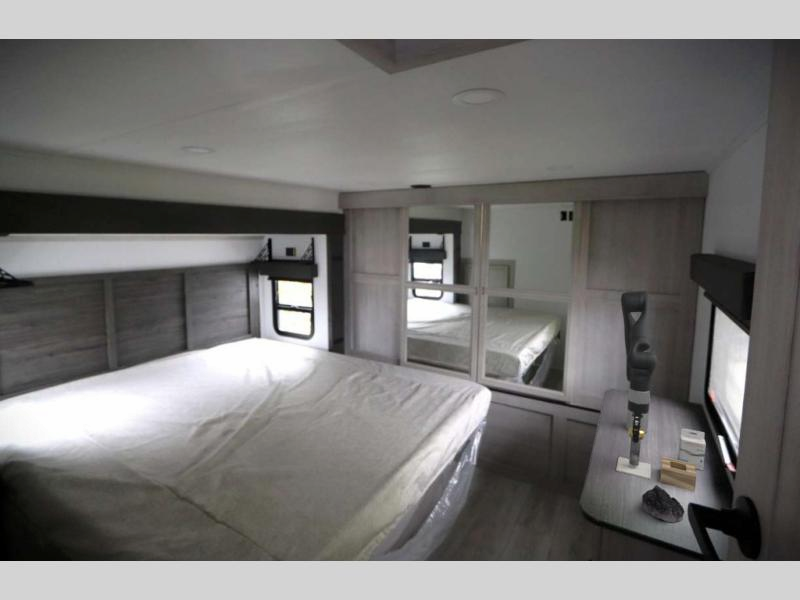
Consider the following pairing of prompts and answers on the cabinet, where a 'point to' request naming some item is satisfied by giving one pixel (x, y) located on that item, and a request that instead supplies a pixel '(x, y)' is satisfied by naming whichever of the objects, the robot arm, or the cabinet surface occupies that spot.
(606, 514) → the cabinet surface
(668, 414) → the cabinet surface
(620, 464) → the pad
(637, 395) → the robot arm
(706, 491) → the cabinet surface
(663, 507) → the crystal cluster
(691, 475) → the wooden block
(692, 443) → the ink box
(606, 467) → the cabinet surface
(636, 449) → the grey gold cylinder
